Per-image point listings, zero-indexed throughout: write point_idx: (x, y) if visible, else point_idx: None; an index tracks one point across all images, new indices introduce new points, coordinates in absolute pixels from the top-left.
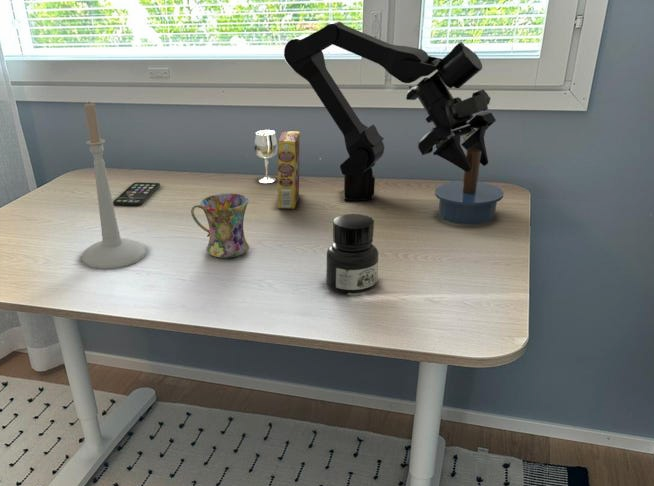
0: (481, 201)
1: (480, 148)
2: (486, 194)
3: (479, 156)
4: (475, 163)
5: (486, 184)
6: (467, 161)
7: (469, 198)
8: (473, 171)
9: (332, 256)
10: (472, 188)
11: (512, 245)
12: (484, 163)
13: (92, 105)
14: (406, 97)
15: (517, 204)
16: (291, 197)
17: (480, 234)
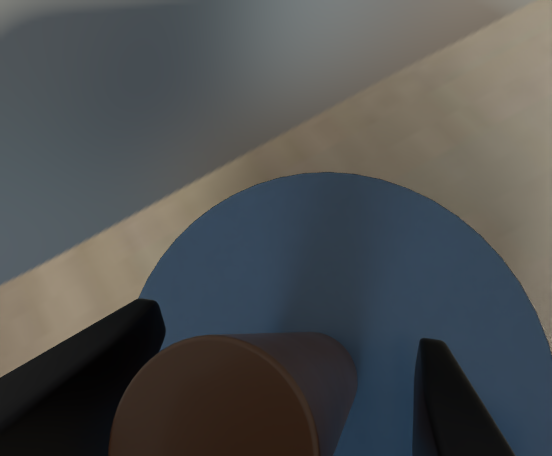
0: (434, 219)
1: (19, 441)
2: (300, 260)
3: (243, 334)
4: (308, 351)
5: None
6: (455, 409)
7: (431, 308)
8: (326, 355)
9: None
10: (335, 342)
11: (498, 52)
12: (156, 330)
13: None
14: None
15: (83, 258)
16: None
17: (481, 203)
